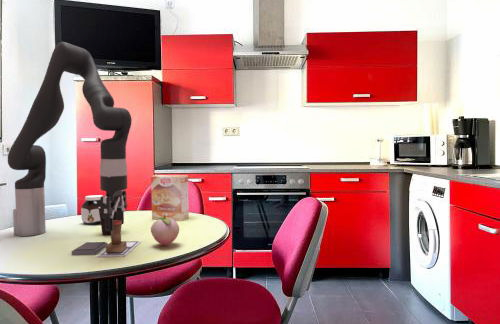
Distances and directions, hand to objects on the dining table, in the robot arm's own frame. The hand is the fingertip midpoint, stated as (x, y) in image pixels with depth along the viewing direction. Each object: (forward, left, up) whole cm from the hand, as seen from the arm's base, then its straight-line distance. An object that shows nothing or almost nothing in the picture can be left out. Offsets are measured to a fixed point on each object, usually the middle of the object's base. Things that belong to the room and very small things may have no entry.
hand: (114, 227), depth 103 cm
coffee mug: (-10, +26, -8) cm, 29 cm away
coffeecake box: (+6, +50, -8) cm, 51 cm away
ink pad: (-9, +3, -8) cm, 12 cm away
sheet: (0, +4, -8) cm, 9 cm away
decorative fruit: (+14, +7, -8) cm, 17 cm away
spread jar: (-23, +44, -8) cm, 50 cm away
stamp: (0, 0, -7) cm, 7 cm away
